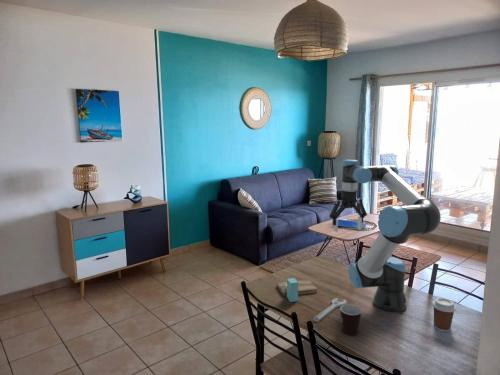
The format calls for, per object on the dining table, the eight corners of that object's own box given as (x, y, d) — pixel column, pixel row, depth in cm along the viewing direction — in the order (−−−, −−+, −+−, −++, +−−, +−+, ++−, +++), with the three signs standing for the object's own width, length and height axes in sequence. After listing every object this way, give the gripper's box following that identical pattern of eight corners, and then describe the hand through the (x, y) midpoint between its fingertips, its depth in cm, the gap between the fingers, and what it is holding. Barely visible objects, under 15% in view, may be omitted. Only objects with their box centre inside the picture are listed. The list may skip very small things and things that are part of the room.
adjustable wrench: (317, 324, 161) (317, 320, 161) (305, 318, 166) (305, 315, 166) (348, 304, 178) (348, 300, 178) (337, 299, 183) (337, 296, 182)
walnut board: (317, 292, 189) (317, 288, 189) (284, 296, 185) (284, 292, 185) (308, 282, 201) (308, 279, 200) (276, 286, 197) (277, 282, 196)
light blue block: (297, 301, 181) (298, 282, 179) (290, 302, 180) (290, 283, 178) (290, 291, 191) (290, 273, 189) (282, 292, 190) (282, 274, 188)
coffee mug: (357, 339, 149) (358, 317, 147) (336, 333, 153) (337, 311, 152) (364, 326, 159) (365, 304, 157) (345, 320, 163) (346, 299, 161)
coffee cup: (441, 319, 163) (443, 294, 161) (459, 330, 155) (461, 304, 152) (425, 323, 160) (427, 298, 158) (442, 335, 152) (445, 308, 149)
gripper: (367, 187, 192) (365, 226, 196) (323, 190, 186) (322, 229, 190) (375, 190, 185) (373, 230, 189) (330, 192, 179) (328, 234, 183)
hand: (347, 230), depth 189 cm, fingers open, 13 cm apart
